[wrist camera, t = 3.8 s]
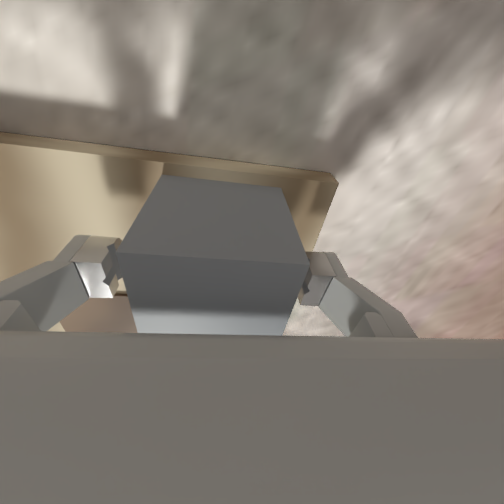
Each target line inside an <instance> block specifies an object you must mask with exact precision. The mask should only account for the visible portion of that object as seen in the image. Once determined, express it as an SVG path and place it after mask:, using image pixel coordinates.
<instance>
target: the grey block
mask: <svg viewBox="0 0 504 504" xmlns="http://www.w3.org/2000/svg"><path fill="white" fill-rule="evenodd" d="M116 255H117V259H118V263H119V266H120V270H121V274H122V277H123V281H124V285H125V288H126V292H127V296H128V299H129V303H130V306H131V310H132V314H133V317H134V321H135V325H136V328H137V332H138V333H170V334H225V335H281V336H282V334H283V332H284V329H285V327H286V324H287V322H288V319H289V317H290V314H291V312H292V309H293V307H294V304H295V302H296V299H297V297H298V294H299V292H300V289H301V287H302V284H303V282H304V279H305V277H306V274H307V272H308V269H309V267H310V263H309V261H308V258H307V255H306V253H305V250H304V247H303V245H302V242H301V239H300V237H299V234H298V231H297V229H296V226H295V223H294V221H293V218H292V215H291V213H290V210H289V207H288V205H287V202H286V199H285V197H284V194H283V192H282V189H281V188H278V187H270V186H261V185H252V184H243V183H234V182H225V181H216V180H207V179H198V178H189V177H180V176H171V175H161V177H160V179H159V180H158V182H157V184H156V185H155V187H154V189H153V190H152V192H151V194H150V195H149V197H148V199H147V200H146V202H145V204H144V205H143V207H142V209H141V210H140V212H139V214H138V215H137V217H136V219H135V220H134V222H133V224H132V226H131V227H130V229H129V231H128V232H127V234H126V236H125V237H124V239H123V241H122V242H121V244H120V246H119V247H118V249H117V251H116Z"/></svg>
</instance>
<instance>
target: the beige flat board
mask: <svg viewBox="0 0 504 504" xmlns="http://www.w3.org/2000/svg"><path fill="white" fill-rule="evenodd" d="M161 175H171V176H180V177H189V178H198V179H207V180H216V181H225V182H234V183H243V184H252V185H261V186H270V187H278V188H281V189H282V192H283V194H284V197H285V199H286V202H287V205H288V207H289V210H290V213H291V215H292V218H293V221H294V223H295V226H296V229H297V231H298V234H299V237H300V239H301V242H302V245H303V247H304V250H305V251H311V252H312V251H313V249H314V246H315V243H316V241H317V238H318V236H319V233H320V231H321V228H322V225H323V223H324V220H325V218H326V215H327V213H328V210H329V207H330V205H331V202H332V200H333V197H334V195H335V192H336V189H337V187H338V184H339V183H338V182H337V180H336V179H335V178H334V177H333V176H332V175H331V173H326V172H318V171H310V170H302V169H294V168H286V167H278V166H270V165H262V164H254V163H246V162H238V161H230V160H222V159H214V158H206V157H198V156H190V155H182V154H174V153H165V152H157V151H149V150H141V149H133V148H125V147H117V146H109V145H101V144H93V143H85V142H77V141H69V140H61V139H53V138H45V137H37V136H29V135H21V134H13V133H5V132H0V282H1V281H3V280H5V279H7V278H10V277H12V276H14V275H17V274H19V273H21V272H23V271H26V270H28V269H30V268H33V267H35V266H37V265H39V264H42V263H44V262H46V261H53V260H54V259H55V257H56V256H57V255H58V254H59V253H60V252H61V251H62V250H63V248H64V247H65V246H66V245H67V244H68V243H69V242H70V241H71V239H72V238H73V237H74V236H75V235H79V234H80V235H91V236H104V237H115V238H120V239H121V240H122V241H123V239H124V237H125V236H126V234H127V232H128V231H129V229H130V227H131V226H132V224H133V222H134V220H135V219H136V217H137V215H138V214H139V212H140V210H141V209H142V207H143V205H144V204H145V202H146V200H147V199H148V197H149V195H150V194H151V192H152V190H153V189H154V187H155V185H156V184H157V182H158V180H159V179H160V177H161ZM118 283H119V287H118V289H117V291H116V293H115V295H114V297H113V298H89V299H88V300H87V301H86V302H84V303H83V304H82V305H80V306H79V307H78V308H76V309H75V310H74V311H72V312H71V313H70V314H69V315H67V316H66V317H65V318H63V319H62V320H61V321H59V322H58V323H57V324H55V325H54V326H53V327H52V328H50V329H49V330H48V331H58V332H114V333H138V332H137V328H136V325H135V321H134V317H133V314H132V310H131V306H130V303H129V299H128V296H127V292H126V288H125V285H124V281H123V278H121V279H119V280H118Z"/></svg>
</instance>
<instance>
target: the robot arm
mask: <svg viewBox="0 0 504 504" xmlns="http://www.w3.org/2000/svg"><path fill="white" fill-rule="evenodd" d="M121 242H122V240H121V239H120V238H115V237H104V236H91V235H80V234H79V235H75V236H74V237H73V238H72V239H71V241H70V242H69V243H68V244H67V245H66V246H65V247H64V248H63V250H62V251H61V252H60V253H59V254H58V255H57V256H56V257H55V259H54V260H53V261H46V262H44V263H42V264H39V265H37V266H35V267H33V268H30V269H28V270H26V271H23V272H21V273H19V274H17V275H14V276H12V277H10V278H7V279H5V280H3V281H1V282H0V504H504V339H448V338H418V337H417V336H416V334H415V333H414V331H413V330H412V328H411V327H410V325H409V323H408V322H407V320H406V319H405V317H404V316H403V314H402V313H401V312H400V311H398V310H397V309H395V308H394V307H393V306H391V305H390V304H388V303H387V302H385V301H384V300H383V299H381V298H380V297H378V296H377V295H376V294H374V293H373V292H371V291H370V290H369V289H367V288H366V287H364V286H363V285H362V284H360V283H359V282H357V281H356V280H354V279H353V278H349V277H348V275H347V273H346V271H345V270H344V268H343V266H342V264H341V262H340V260H339V259H338V257H337V255H336V254H335V253H334V252H311V251H305V253H306V255H307V258H308V261H309V263H310V267H309V269H308V272H307V274H306V277H305V279H304V282H303V284H302V287H301V289H300V292H299V294H298V299H299V303H300V305H309V306H319V308H320V309H321V310H322V311H323V312H324V314H325V315H326V316H327V317H328V318H329V319H330V320H331V321H332V322H333V323H334V324H335V326H336V327H337V328H338V329H339V330H340V331H341V332H342V333H343V334H344V335H345V337H336V336H281V335H225V334H170V333H114V332H58V331H48V330H49V329H50V328H52V327H53V326H54V325H55V324H57V323H58V322H59V321H61V320H62V319H63V318H65V317H66V316H67V315H69V314H70V313H71V312H72V311H74V310H75V309H76V308H78V307H79V306H80V305H82V304H83V303H84V302H86V301H87V300H88V299H89V298H113V297H114V295H115V293H116V291H117V289H118V287H119V283H118V280H119V279H121V278H123V277H122V274H121V270H120V266H119V263H118V259H117V255H116V251H117V249H118V247H119V246H120V244H121Z"/></svg>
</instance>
